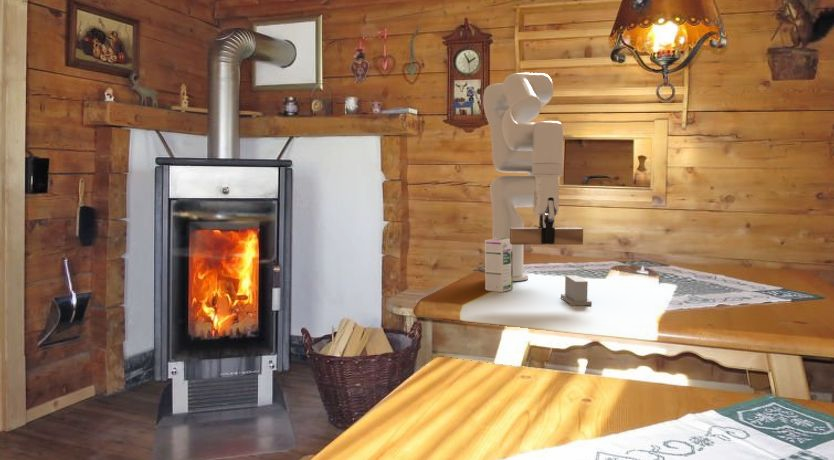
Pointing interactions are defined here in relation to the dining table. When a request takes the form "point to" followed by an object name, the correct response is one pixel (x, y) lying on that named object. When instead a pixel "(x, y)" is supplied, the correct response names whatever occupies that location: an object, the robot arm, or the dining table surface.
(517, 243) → the beam
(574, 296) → the ridge block
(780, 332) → the dining table surface
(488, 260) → the syrup box
